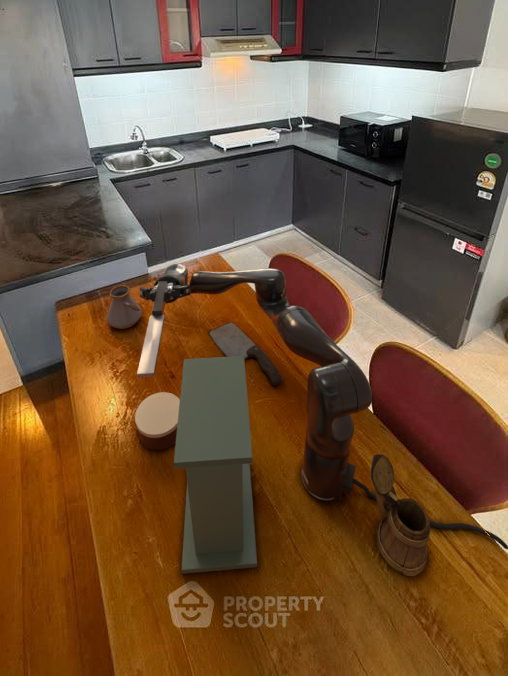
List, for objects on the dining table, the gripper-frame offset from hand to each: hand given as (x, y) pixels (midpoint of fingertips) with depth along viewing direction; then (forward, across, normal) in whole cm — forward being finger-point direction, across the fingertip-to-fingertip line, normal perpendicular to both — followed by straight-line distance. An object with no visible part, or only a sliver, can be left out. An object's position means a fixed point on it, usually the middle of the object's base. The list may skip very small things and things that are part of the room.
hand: (159, 296), depth 89 cm
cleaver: (-29, +21, +23) cm, 43 cm away
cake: (-9, -2, +34) cm, 35 cm away
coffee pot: (-41, -16, +16) cm, 47 cm away
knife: (+5, 0, +6) cm, 7 cm away
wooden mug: (+13, +47, +47) cm, 68 cm away
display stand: (+7, +13, +43) cm, 46 cm away
